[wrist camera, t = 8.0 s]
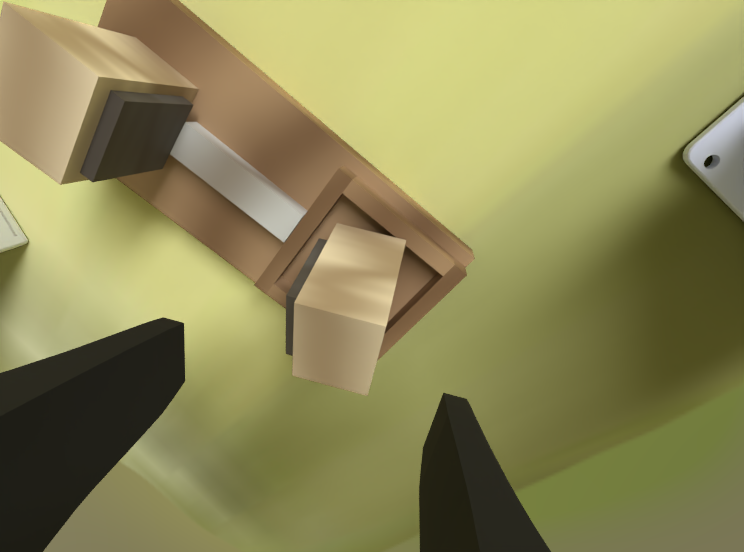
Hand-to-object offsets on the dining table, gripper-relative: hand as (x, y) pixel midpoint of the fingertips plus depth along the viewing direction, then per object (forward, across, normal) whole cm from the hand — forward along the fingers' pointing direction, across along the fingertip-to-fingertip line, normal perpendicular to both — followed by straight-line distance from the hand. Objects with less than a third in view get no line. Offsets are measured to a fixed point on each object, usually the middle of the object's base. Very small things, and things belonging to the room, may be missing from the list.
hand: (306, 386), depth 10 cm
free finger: (+8, 0, 0) cm, 8 cm away
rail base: (+9, +5, -2) cm, 11 cm away
